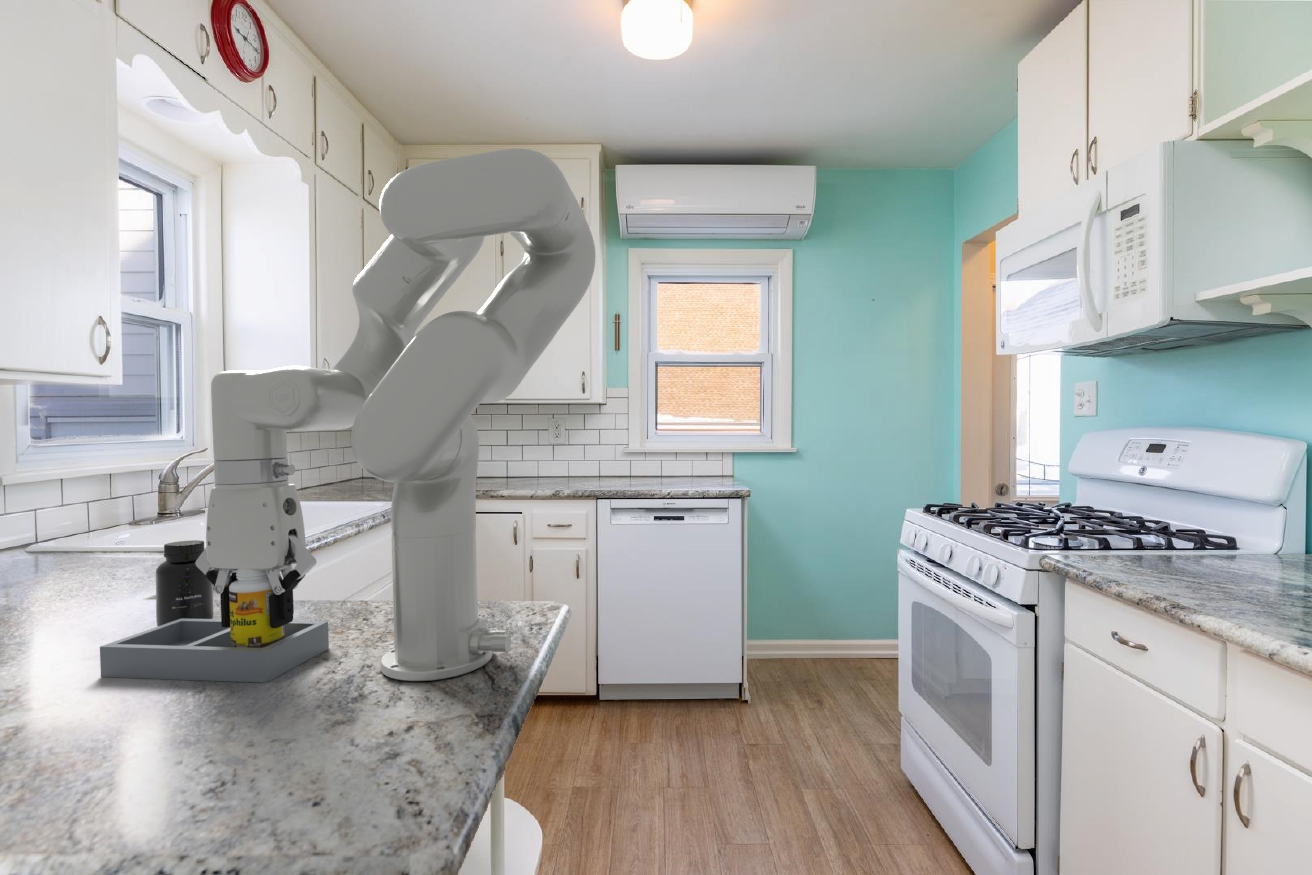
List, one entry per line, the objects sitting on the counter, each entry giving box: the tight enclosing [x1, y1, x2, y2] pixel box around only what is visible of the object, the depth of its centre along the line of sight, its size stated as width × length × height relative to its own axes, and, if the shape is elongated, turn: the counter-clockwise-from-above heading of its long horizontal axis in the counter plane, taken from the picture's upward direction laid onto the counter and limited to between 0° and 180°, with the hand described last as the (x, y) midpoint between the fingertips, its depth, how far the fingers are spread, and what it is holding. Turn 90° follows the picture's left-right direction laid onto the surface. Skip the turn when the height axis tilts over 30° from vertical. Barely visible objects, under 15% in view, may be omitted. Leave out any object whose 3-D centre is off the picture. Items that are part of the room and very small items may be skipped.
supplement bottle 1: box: [155, 539, 214, 627], centre depth 96 cm, size 7×7×12 cm
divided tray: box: [99, 618, 330, 684], centre depth 79 cm, size 21×11×4 cm, turn 82°
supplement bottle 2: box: [229, 569, 285, 648], centre depth 79 cm, size 6×6×10 cm
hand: (257, 622), depth 79 cm, fingers closed on supplement bottle 2, 5 cm apart
